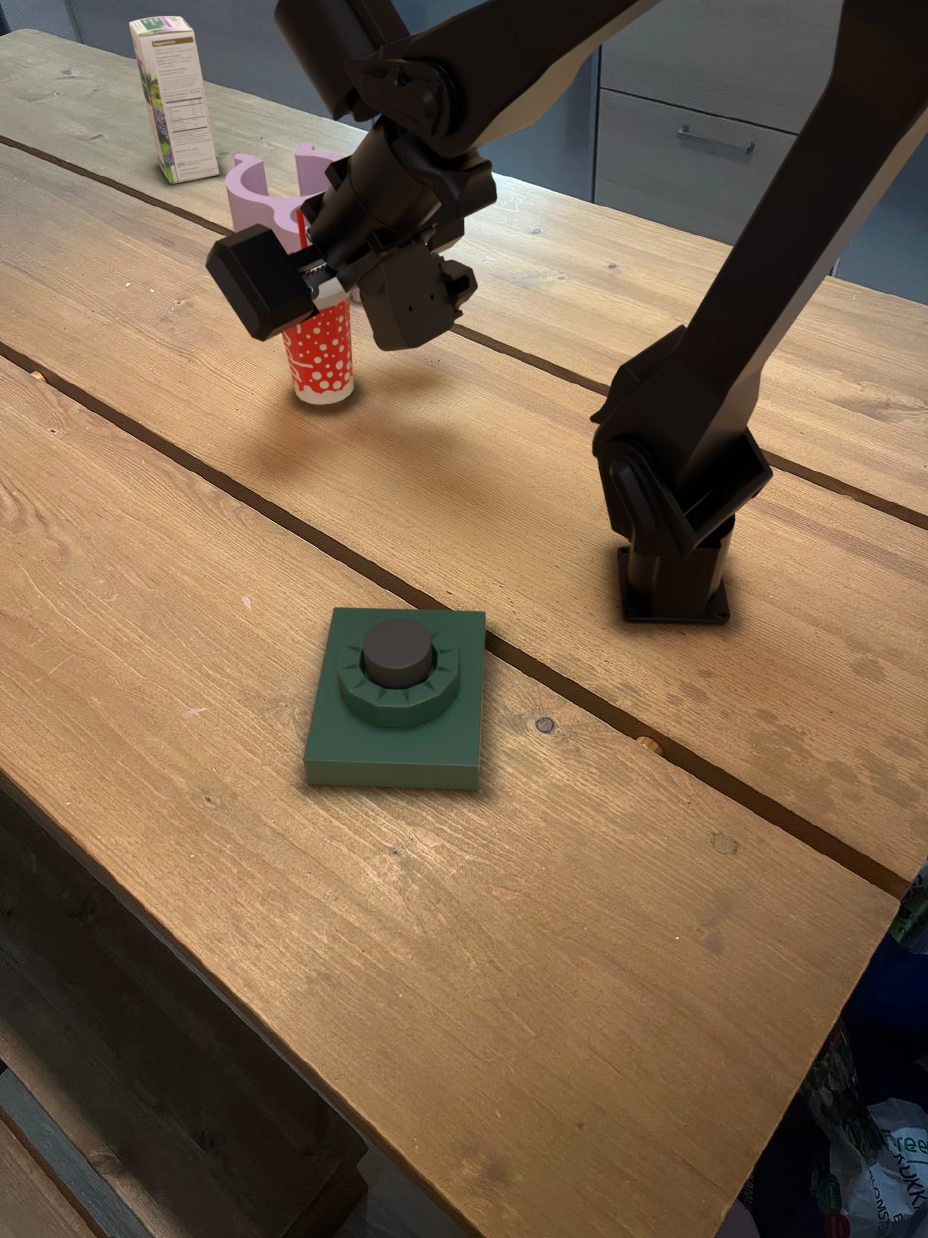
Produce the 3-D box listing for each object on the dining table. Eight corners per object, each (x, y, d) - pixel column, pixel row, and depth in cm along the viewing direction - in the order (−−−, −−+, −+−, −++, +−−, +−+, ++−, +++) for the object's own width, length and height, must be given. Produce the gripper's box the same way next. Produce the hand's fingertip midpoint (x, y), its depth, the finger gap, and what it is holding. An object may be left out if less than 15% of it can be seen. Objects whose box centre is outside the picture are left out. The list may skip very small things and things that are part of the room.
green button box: (478, 790, 50) (478, 745, 47) (308, 784, 50) (297, 739, 47) (485, 636, 57) (485, 588, 55) (337, 632, 58) (330, 584, 55)
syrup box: (158, 166, 108) (124, 19, 97) (209, 157, 109) (181, 12, 99) (170, 185, 104) (135, 34, 94) (222, 175, 106) (194, 26, 95)
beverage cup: (277, 376, 76) (245, 200, 66) (351, 361, 78) (330, 186, 68) (296, 417, 72) (264, 235, 62) (373, 399, 74) (354, 219, 64)
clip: (408, 292, 87) (404, 216, 82) (275, 320, 84) (262, 244, 79) (340, 207, 100) (333, 137, 95) (223, 229, 96) (209, 158, 91)
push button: (429, 691, 50) (428, 669, 49) (361, 689, 50) (358, 667, 49) (434, 640, 52) (433, 618, 51) (369, 638, 53) (367, 616, 51)
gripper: (353, 364, 54) (263, 448, 67) (559, 250, 63) (444, 344, 77) (240, 186, 52) (171, 309, 65) (469, 96, 62) (368, 219, 75)
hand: (300, 298), depth 71 cm, fingers closed on beverage cup, 6 cm apart
